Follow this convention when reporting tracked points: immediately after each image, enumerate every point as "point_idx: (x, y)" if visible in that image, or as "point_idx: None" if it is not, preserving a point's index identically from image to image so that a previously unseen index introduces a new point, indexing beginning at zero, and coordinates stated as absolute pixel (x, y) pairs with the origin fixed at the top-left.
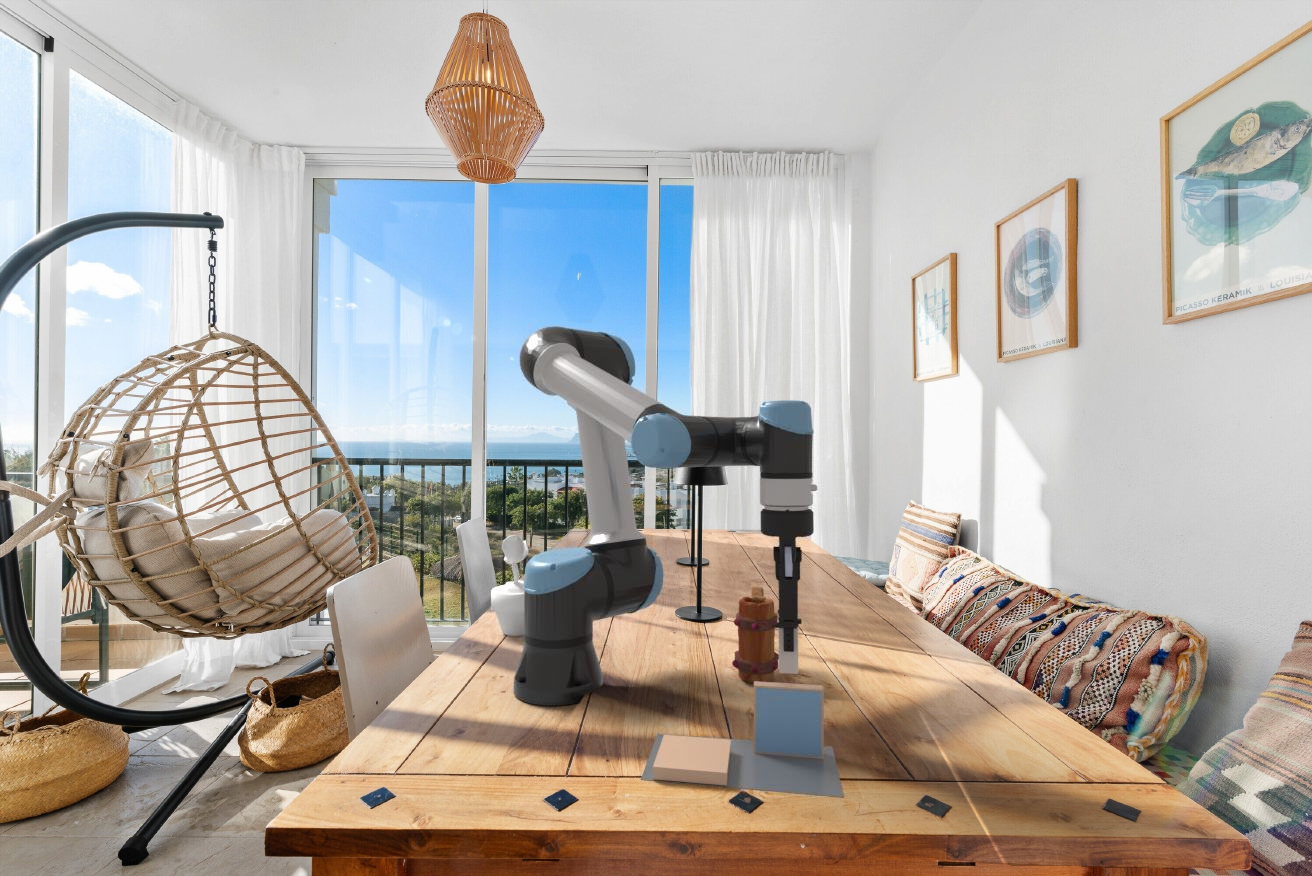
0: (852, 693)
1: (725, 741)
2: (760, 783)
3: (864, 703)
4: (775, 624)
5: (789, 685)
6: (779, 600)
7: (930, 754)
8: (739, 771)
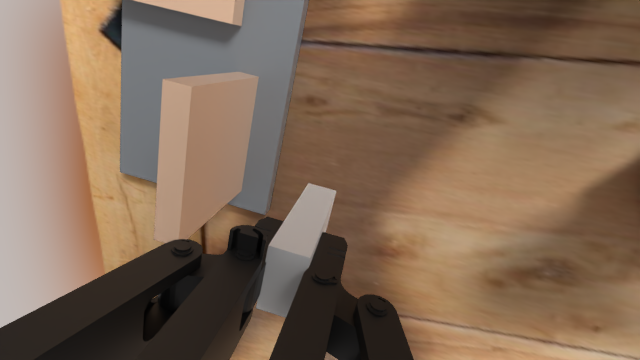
0: (528, 346)
1: (223, 10)
2: (138, 59)
3: (472, 342)
4: (233, 234)
5: (169, 172)
6: (195, 327)
7: (273, 336)
8: (173, 30)
